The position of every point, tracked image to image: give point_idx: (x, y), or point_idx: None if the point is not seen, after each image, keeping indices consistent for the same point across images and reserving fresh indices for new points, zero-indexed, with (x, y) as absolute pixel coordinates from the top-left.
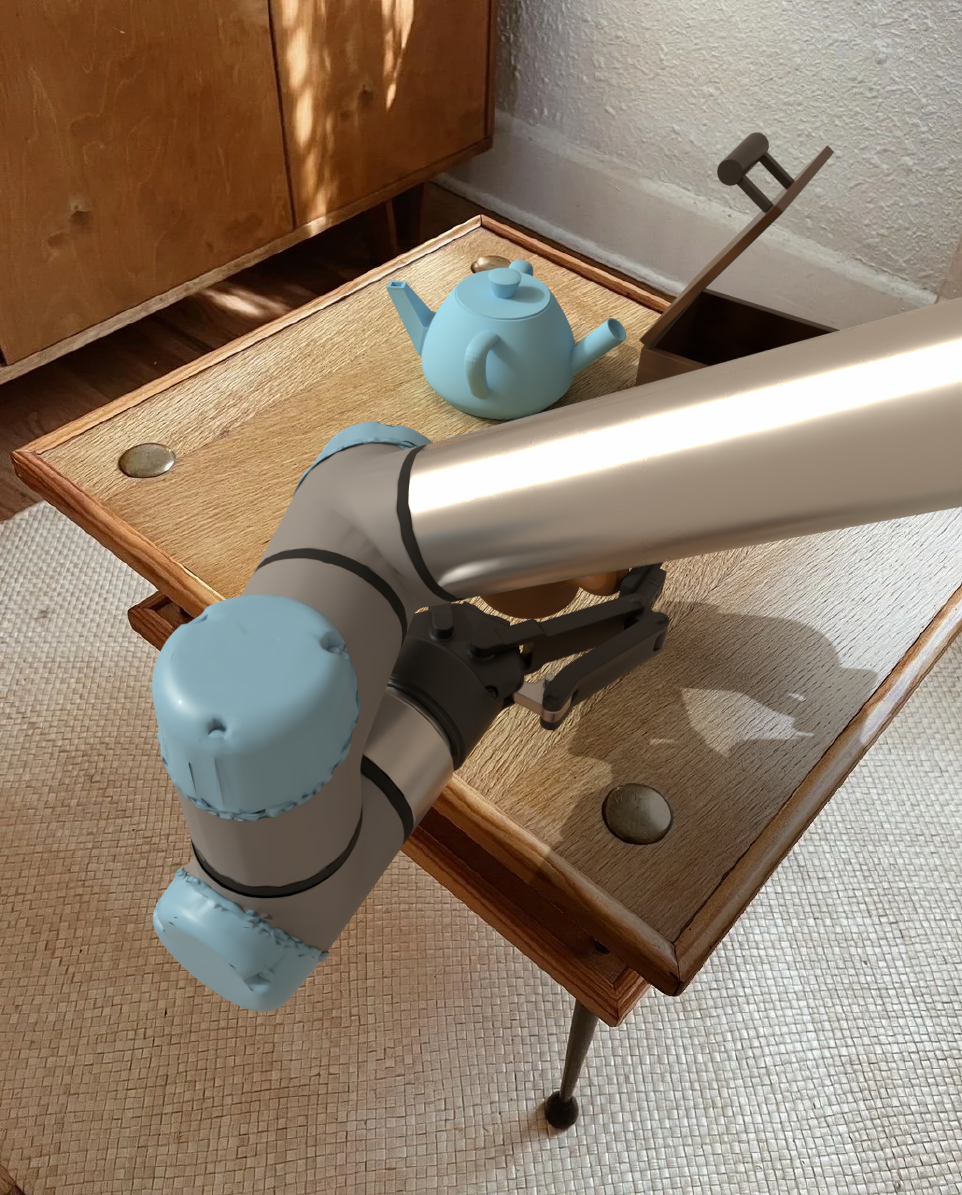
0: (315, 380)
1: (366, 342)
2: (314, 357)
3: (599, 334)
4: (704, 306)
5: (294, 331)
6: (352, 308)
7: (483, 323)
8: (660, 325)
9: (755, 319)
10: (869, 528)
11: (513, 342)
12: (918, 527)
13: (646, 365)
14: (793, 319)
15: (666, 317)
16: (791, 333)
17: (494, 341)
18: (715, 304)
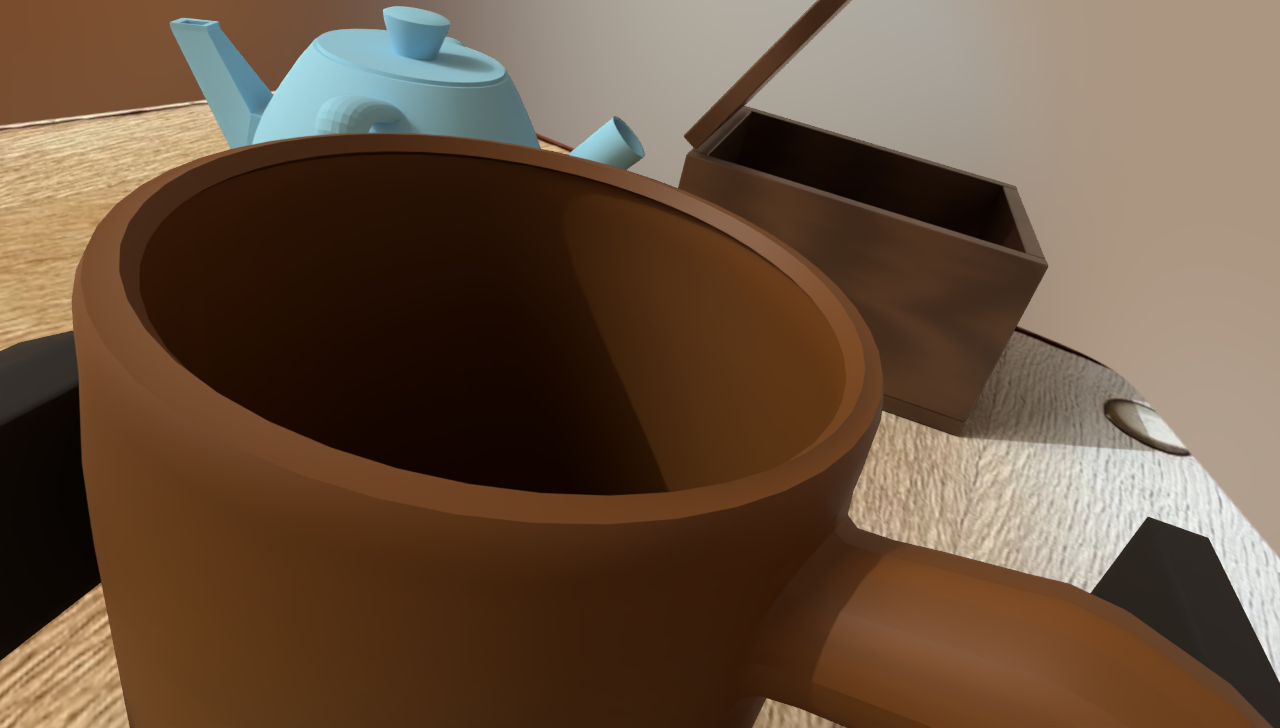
0: (5, 205)
1: (155, 165)
2: (27, 173)
3: (598, 141)
4: (754, 137)
5: (6, 136)
6: (148, 124)
7: (367, 84)
8: (731, 101)
9: (839, 157)
10: (1115, 500)
11: (431, 127)
12: (1181, 496)
13: (694, 189)
14: (904, 155)
15: (745, 82)
16: (899, 179)
17: (388, 111)
18: (773, 133)
